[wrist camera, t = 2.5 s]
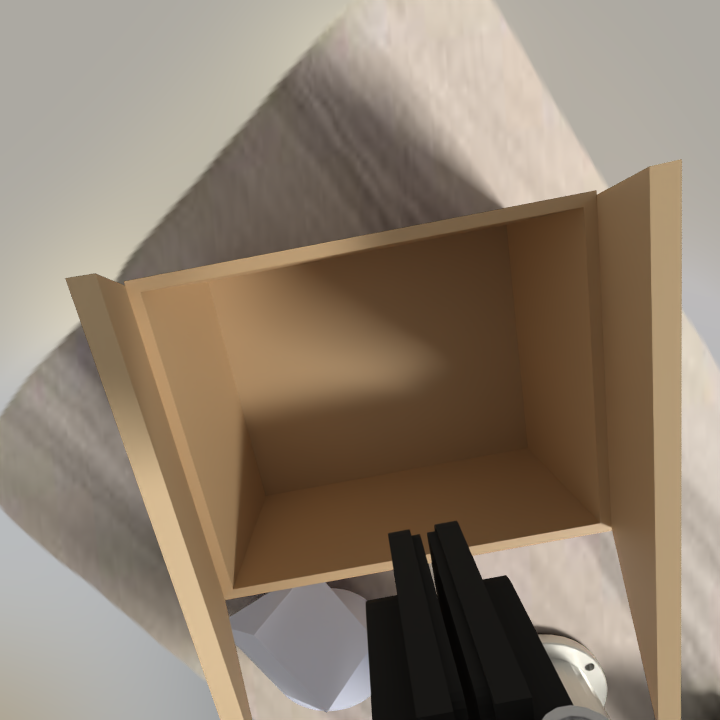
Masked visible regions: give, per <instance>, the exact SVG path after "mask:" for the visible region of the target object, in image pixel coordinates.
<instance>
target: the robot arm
mask: <svg viewBox="0 0 720 720" xmlns="http://www.w3.org/2000/svg"><path fill="white" fill-rule="evenodd" d="M434 529H435V531H433V532H428V533H427V537H428V544H429V549H430V555H431V561H432V567H433V573H434V579H435V585H436V591H437V594H436V591H435V587H434V583H433V580H432V576H431V572H430V569H429V565H428V561H427V558H426V554H425V550H424V546H423V543H422V539H421V536H420V534H417V535H412V536H411V532H410V529H408V530H402V531H397V532H392V533H388V538H389V545H390V551H391V557H392V564H393V570H394V577H395V583H396V589H397V595H396V596H390V597H385V598H379V599H374V600H369V601H366V623H367V640H368V657H369V673H370V690H371V706H372V720H611V719H610V717H609V716H608V714H607V712H606V710H605V709H604V705H605V701H606V698H607V681H606V676H605V674H604V672H603V670H602V668H601V666H600V665H599V663H598V662H597V660H596V659H595V657H594V655H593V654H592V653H591V652H590V651H589V650H588V649H587V648H586V647H584V646H583V645H581V644H579V643H578V642H576V641H574V640H571V639H568V638H566V637H562V636H556V635H546V634H537V632H536V630H535V628H534V626H533V624H532V622H531V620H530V618H529V616H528V614H527V612H526V611H525V609H524V607H523V605H522V603H521V601H520V599H519V597H518V595H517V593H516V591H515V589H514V587H513V585H512V583H511V581H510V580H509V578H508V577H507V576H506V575H505V576H500V577H494V578H489V579H483V580H482V577H481V575H480V573H479V570H478V568H477V566H476V563H475V561H474V559H473V556H472V554H471V552H470V549H469V547H468V544H467V542H466V540H465V537H464V535H463V533H462V530H461V528H460V526H459V523H458V521H451V522H446V523H440V524H435V525H434ZM437 597H438V598H437Z"/></svg>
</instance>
